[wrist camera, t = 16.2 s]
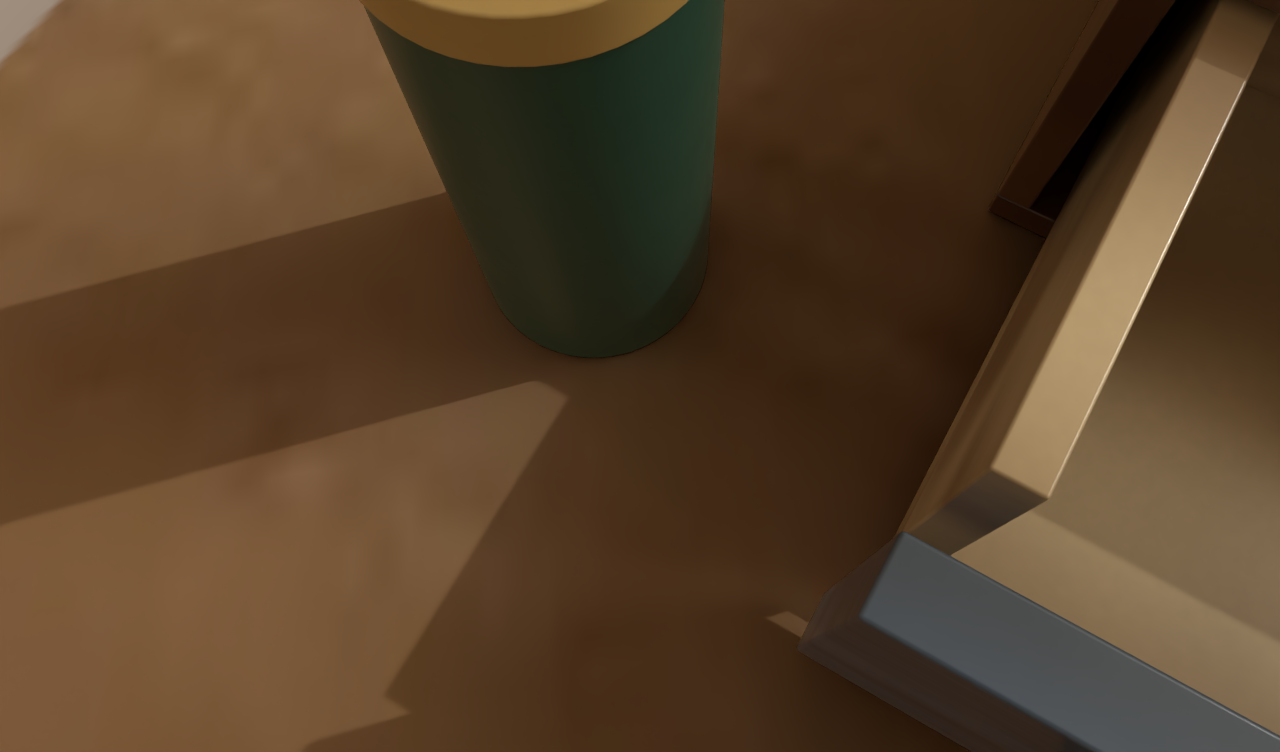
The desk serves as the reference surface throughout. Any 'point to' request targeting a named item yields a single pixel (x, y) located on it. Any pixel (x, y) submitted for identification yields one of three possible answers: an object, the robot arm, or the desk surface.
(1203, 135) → the drawer
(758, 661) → the desk surface
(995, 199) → the brown wooden box
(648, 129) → the tin
